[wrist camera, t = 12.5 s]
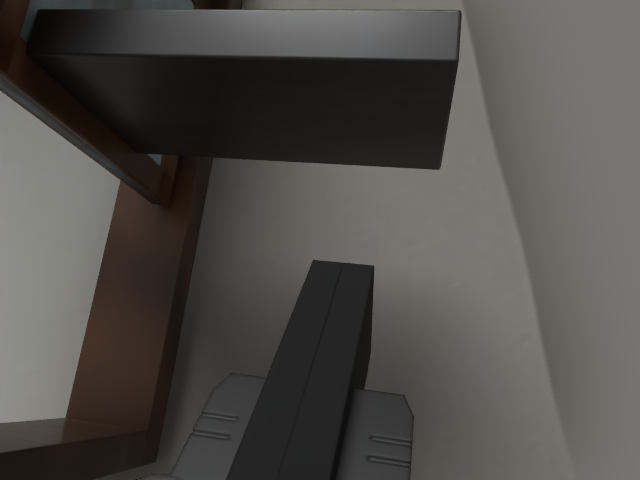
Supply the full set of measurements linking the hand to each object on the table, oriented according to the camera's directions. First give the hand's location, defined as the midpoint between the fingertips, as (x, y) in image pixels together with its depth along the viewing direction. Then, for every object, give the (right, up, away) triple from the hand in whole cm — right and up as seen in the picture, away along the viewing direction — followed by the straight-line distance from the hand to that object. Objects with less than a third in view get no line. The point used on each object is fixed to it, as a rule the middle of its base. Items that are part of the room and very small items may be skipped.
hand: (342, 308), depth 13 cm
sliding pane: (-1, +8, +13) cm, 15 cm away
